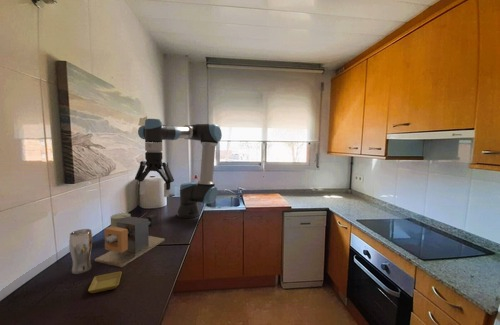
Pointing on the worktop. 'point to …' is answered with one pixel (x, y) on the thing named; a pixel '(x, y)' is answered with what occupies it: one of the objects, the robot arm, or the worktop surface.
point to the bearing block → (131, 242)
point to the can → (118, 218)
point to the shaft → (151, 222)
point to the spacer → (122, 239)
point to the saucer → (105, 282)
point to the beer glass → (81, 250)
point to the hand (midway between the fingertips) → (154, 195)
